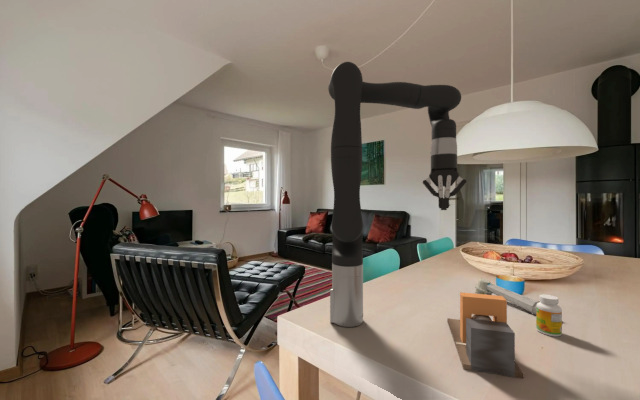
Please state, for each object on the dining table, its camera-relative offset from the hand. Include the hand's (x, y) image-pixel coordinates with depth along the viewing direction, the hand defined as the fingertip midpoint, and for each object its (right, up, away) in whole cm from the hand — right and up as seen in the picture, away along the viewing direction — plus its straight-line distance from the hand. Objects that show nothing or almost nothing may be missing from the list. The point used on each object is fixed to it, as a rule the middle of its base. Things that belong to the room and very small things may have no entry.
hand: (443, 210), depth 86 cm
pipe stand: (+1, -33, -17) cm, 37 cm away
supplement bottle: (+24, -33, -11) cm, 42 cm away
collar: (0, -31, -21) cm, 37 cm away
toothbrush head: (+27, -34, +10) cm, 44 cm away
